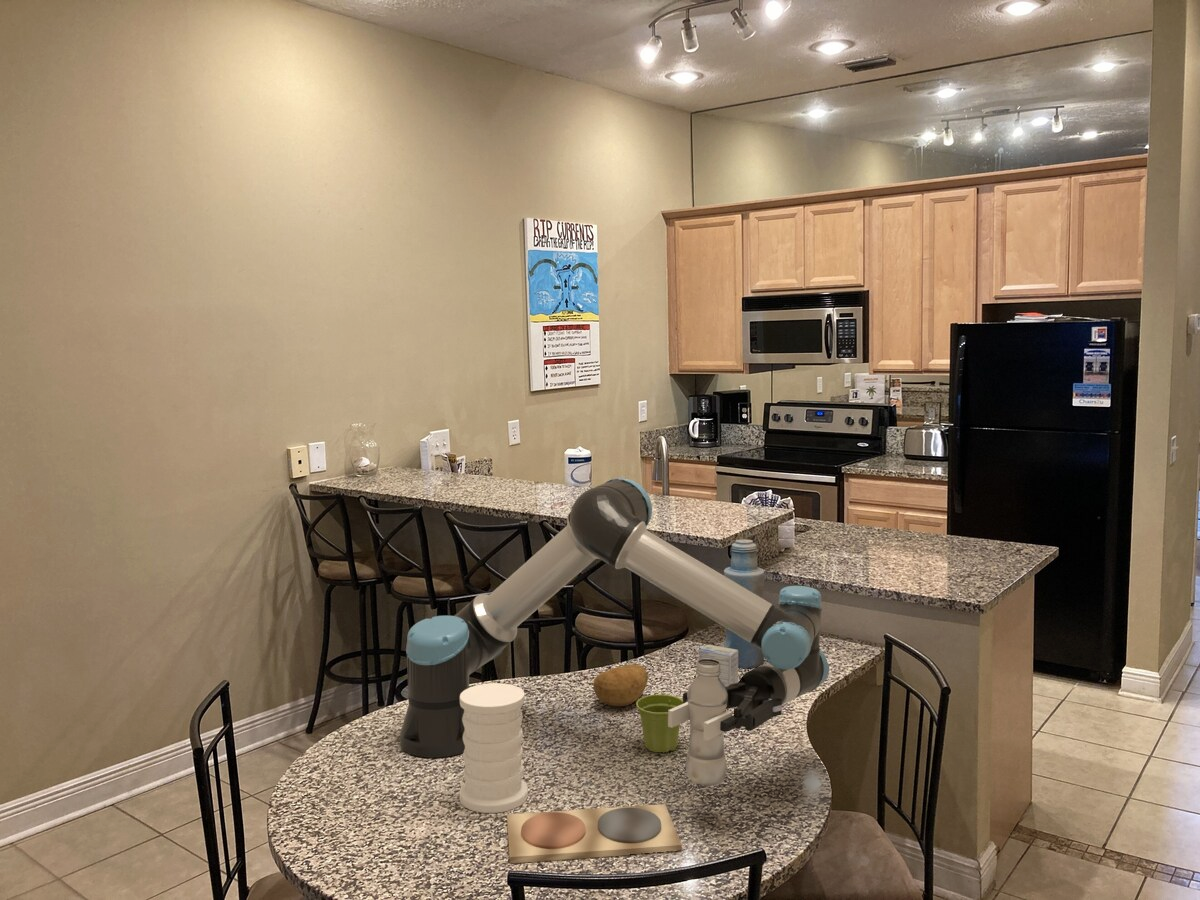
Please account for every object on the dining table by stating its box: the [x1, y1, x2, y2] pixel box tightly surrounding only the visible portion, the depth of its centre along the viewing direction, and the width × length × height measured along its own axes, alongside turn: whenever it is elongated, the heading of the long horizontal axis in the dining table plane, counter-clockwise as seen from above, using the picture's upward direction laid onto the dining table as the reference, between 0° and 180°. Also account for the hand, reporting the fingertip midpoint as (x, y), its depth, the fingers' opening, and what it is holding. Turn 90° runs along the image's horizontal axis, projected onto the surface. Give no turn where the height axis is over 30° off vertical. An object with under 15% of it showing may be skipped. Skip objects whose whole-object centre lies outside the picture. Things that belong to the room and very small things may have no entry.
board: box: [506, 803, 683, 864], centre depth 149 cm, size 26×13×2 cm, turn 97°
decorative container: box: [459, 682, 529, 814], centre depth 161 cm, size 12×12×18 cm
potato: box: [592, 663, 649, 707], centre depth 203 cm, size 10×14×8 cm
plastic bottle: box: [685, 658, 728, 787], centre depth 152 cm, size 6×7×20 cm
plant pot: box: [635, 693, 683, 754], centre depth 181 cm, size 9×9×9 cm
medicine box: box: [698, 644, 739, 686], centre depth 213 cm, size 8×4×9 cm, turn 58°
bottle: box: [723, 539, 765, 669], centre depth 228 cm, size 10×10×30 cm
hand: (687, 725), depth 148 cm, fingers closed on plastic bottle, 6 cm apart
